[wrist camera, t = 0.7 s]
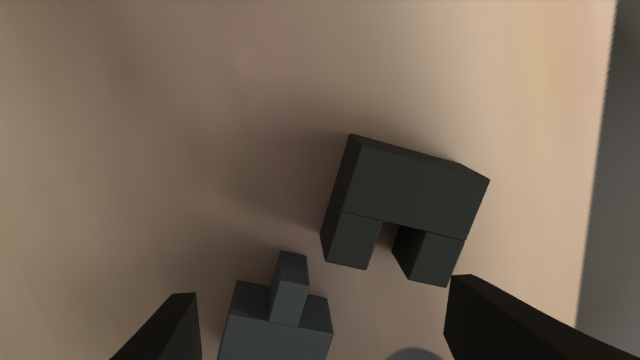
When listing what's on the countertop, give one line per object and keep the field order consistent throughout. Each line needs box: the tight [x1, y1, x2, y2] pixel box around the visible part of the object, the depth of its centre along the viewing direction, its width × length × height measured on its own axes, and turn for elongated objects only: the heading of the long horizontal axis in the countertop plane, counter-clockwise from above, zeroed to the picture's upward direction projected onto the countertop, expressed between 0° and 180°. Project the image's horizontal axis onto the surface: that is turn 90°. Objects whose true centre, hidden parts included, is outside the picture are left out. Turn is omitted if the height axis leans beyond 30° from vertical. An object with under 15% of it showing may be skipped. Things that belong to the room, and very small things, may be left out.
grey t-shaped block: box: [217, 251, 334, 360], centre depth 20 cm, size 6×5×3 cm
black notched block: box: [319, 134, 490, 288], centre depth 19 cm, size 6×6×3 cm
